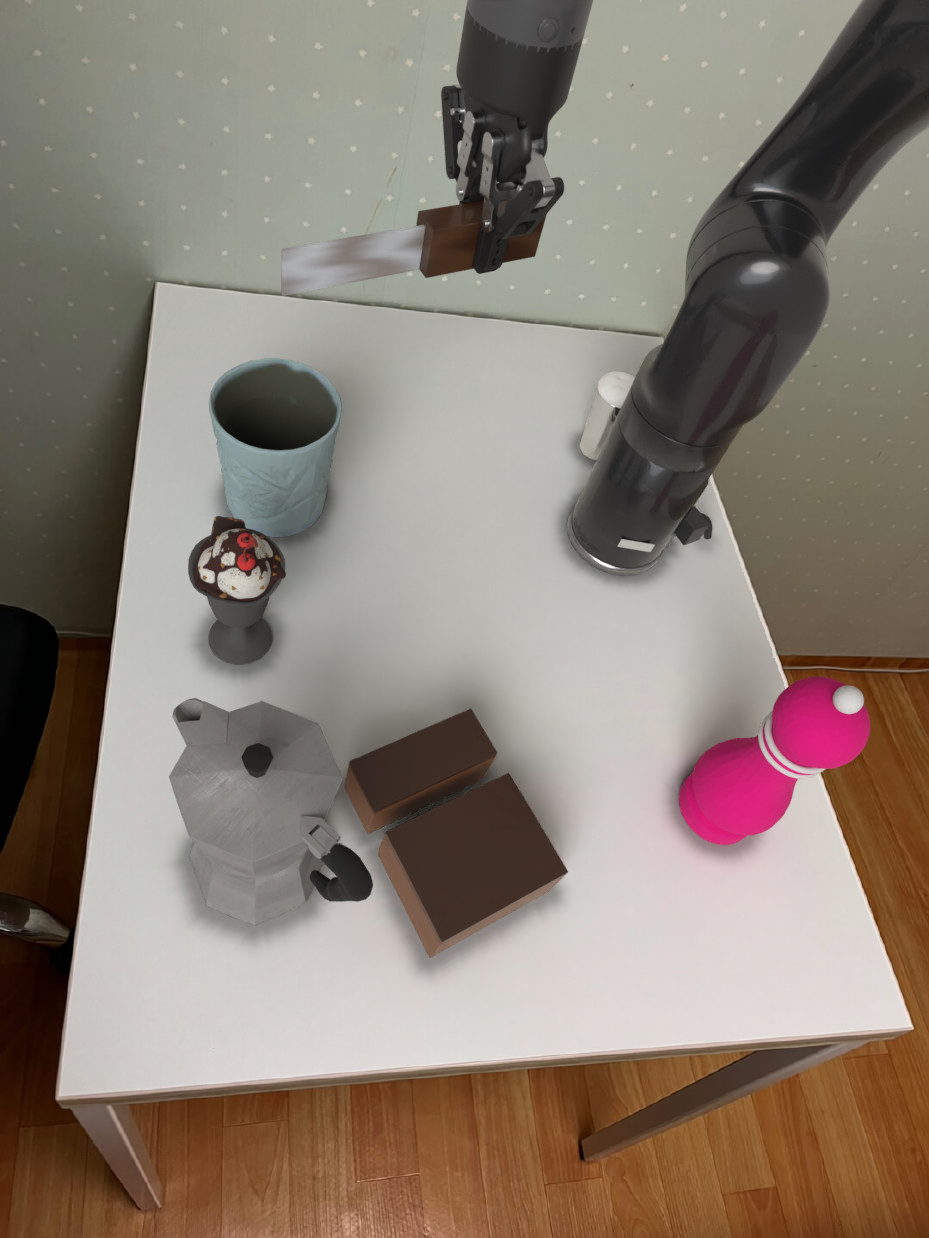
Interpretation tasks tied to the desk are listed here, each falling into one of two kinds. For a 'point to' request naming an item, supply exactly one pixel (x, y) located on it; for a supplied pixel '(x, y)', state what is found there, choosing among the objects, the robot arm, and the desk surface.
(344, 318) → the desk surface
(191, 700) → the coffeepot
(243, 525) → the sundae
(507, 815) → the cake
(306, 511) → the blue ceramic cup
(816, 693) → the pepper mill
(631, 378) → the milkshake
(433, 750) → the cake slice
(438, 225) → the knife
